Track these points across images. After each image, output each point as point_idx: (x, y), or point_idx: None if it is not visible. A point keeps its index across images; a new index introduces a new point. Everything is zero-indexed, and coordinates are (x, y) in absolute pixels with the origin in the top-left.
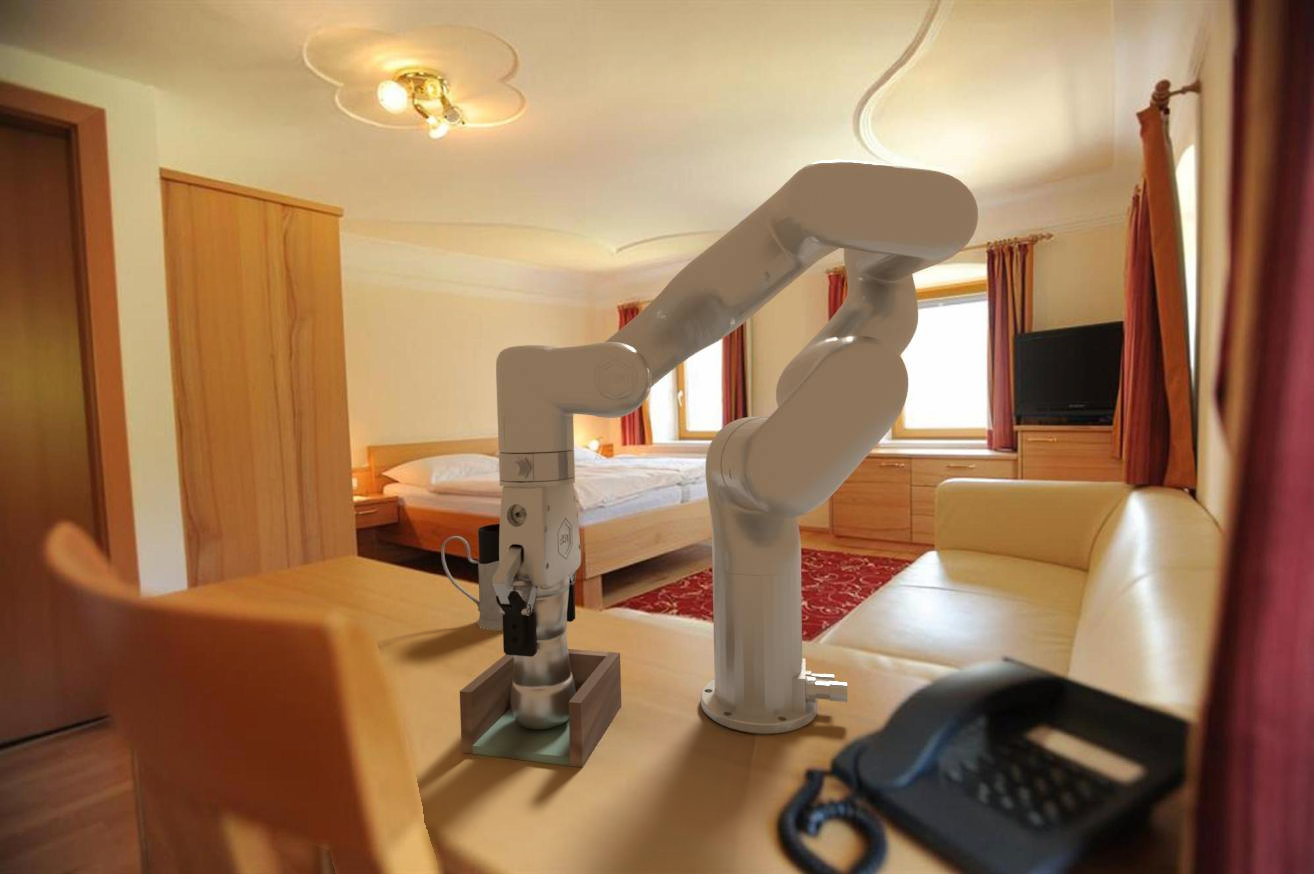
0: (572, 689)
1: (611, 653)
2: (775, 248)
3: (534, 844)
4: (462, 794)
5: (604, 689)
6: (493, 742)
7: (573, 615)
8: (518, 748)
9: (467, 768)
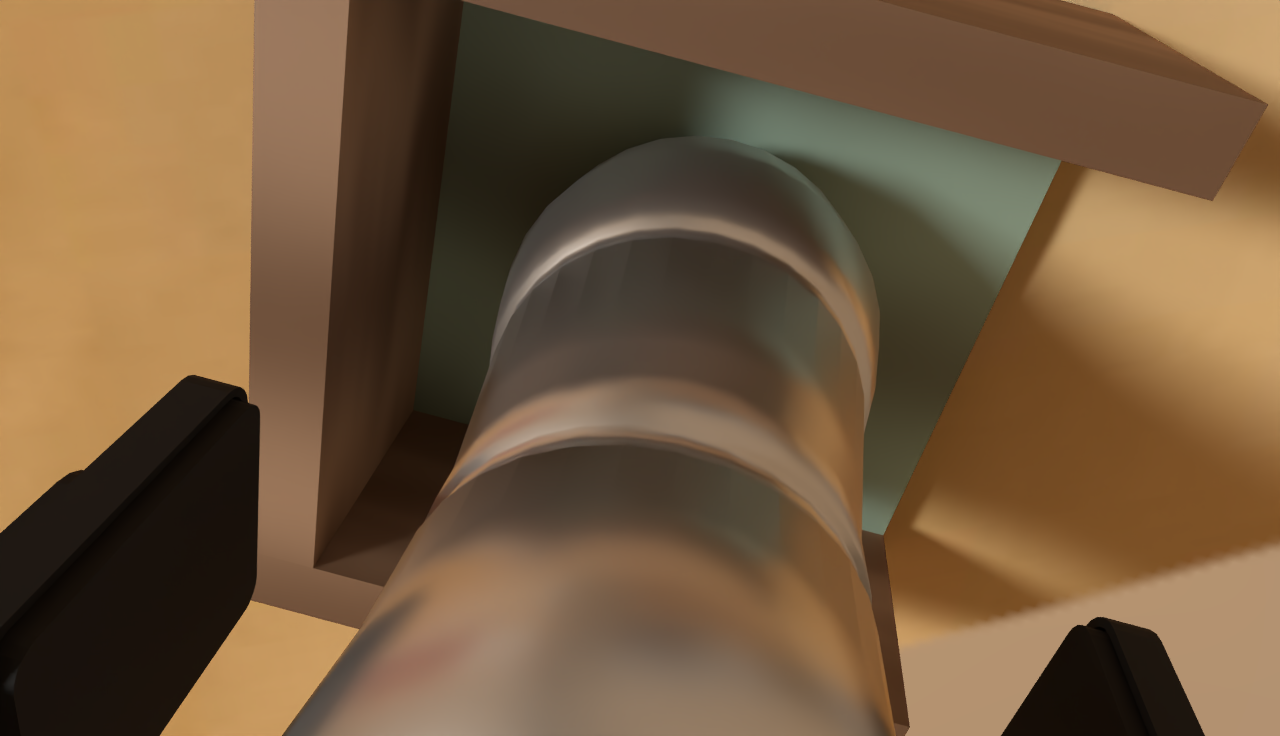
0: (735, 185)
1: None
2: None
3: None
4: (1180, 494)
5: None
6: (869, 464)
7: (216, 411)
8: (946, 357)
9: (988, 511)
